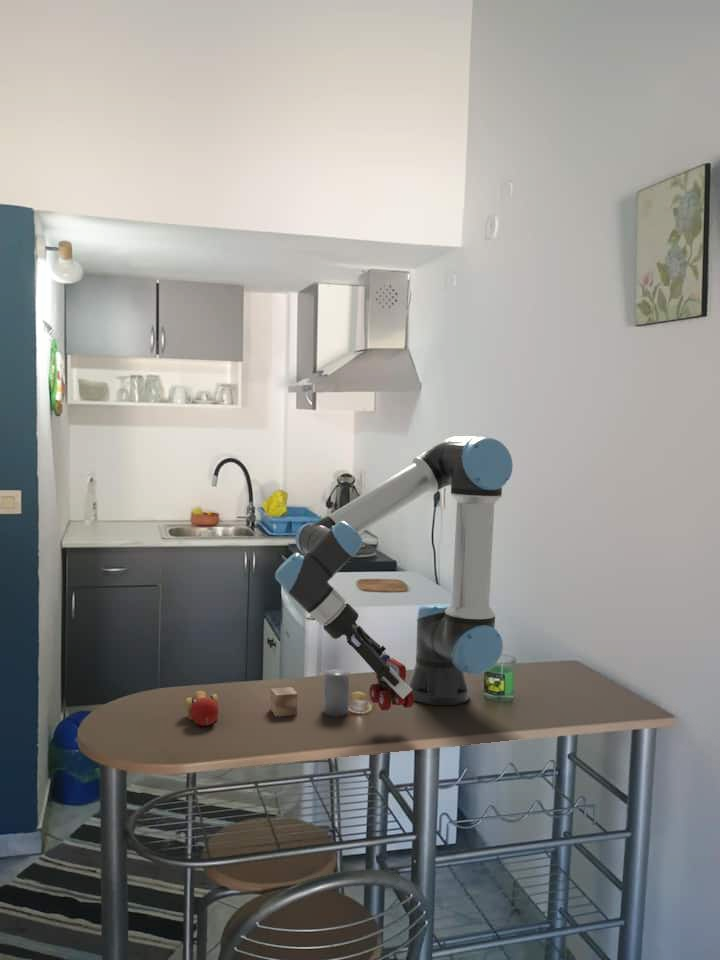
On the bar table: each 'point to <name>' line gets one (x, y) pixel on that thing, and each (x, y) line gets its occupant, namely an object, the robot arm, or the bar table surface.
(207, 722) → the kendama
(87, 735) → the bar table surface
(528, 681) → the bar table surface
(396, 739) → the bar table surface
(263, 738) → the bar table surface
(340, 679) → the light grey cylinder
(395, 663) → the toy fire truck
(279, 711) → the light brown cube
